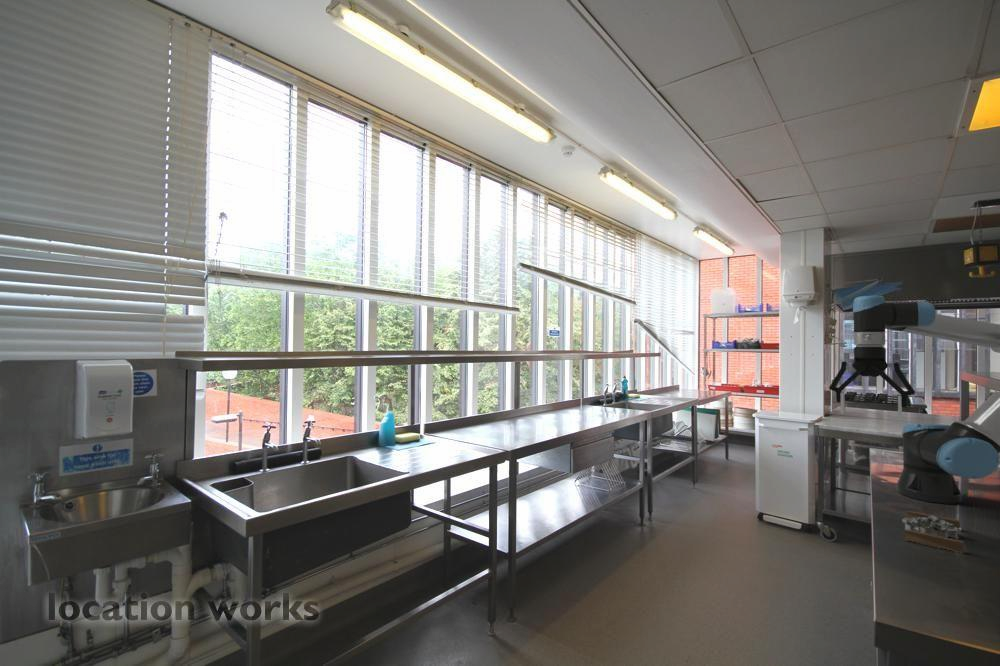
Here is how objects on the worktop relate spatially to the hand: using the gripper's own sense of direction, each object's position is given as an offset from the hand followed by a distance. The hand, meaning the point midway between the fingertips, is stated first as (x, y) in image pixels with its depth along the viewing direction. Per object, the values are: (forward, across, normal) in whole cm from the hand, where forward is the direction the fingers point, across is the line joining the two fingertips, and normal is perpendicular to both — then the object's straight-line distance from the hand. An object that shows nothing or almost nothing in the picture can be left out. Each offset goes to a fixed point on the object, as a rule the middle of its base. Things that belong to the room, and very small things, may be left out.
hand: (870, 415), depth 139 cm
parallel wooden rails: (+27, +13, -19) cm, 35 cm away
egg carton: (+27, +13, -19) cm, 35 cm away
